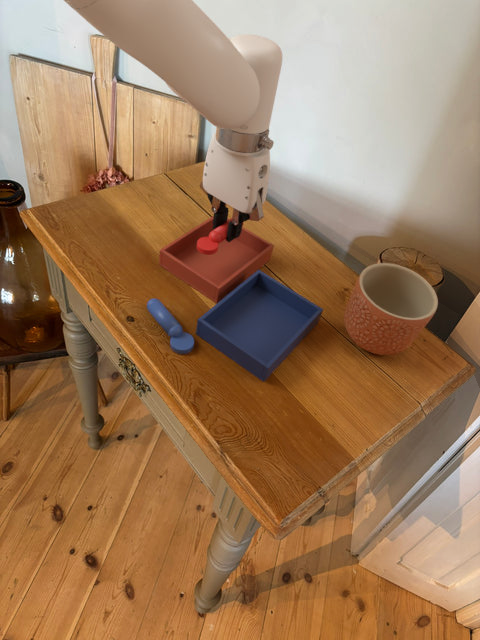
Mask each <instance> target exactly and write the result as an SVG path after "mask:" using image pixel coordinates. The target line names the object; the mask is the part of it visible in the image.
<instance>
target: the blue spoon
mask: <svg viewBox="0 0 480 640" xmlns="http://www.w3.org/2000/svg"><path fill="white" fill-rule="evenodd" d="M146 310H147V311H148V312H149V313H150V315H151V316H152V317H153V318H154V320H155V321H156V322H157V323H158V325H159V326H160V327H161V328H162V329H163V330H164V332H165V333H166V334H167V336H168V337H169V338H170V341H169V346H170V349H171V350H172V351H173V352H174V353H176V354H179V355H185V354H186V355H187V354H189V353H191V352H192V351H193V350H194V347H195V339H194V337H193V335H191V334H190V333H188V332H186V331H184V329H183V326H182V325H181V324H180V322H179V321H178V320H177V319H176V318H175V317H174V316H173V314H172V313H171V311H169V309H167V307H166V306H165V305H164V303H162V301H161V300H160V299H158V298H156V297H155V298H154V297H153V298H150V299H149V300H148V301H147V303H146Z"/></svg>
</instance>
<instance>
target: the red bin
mask: <svg viewBox="0 0 480 640" xmlns="http://www.w3.org/2000/svg"><path fill="white" fill-rule="evenodd" d="M213 217H214V215H213V216H210V217H209V218H208V219H206V220H205V221H203V222H202V223H200V224H198V225H197V226H195V227H194V228H192V229H190V230H189V231H187V232H186V233H184V234H181V236H179V237H178V238H176V239H174V240H173V241H171V242H170V243H168V244H167V245H165V246H163V247H161V248H160V249H159V250H158V251H159V254H158V266H160V267H161V268H162V269H164V270H166V271H167V272H168V273H170V274H171V275H173V276H174V277H176V278H177V279H179V280H180V281H182V282H184V283H185V284H187V285H188V286H190V287H191V288H193V289H194V290H196V291H197V292H199V293H200V294H202V295H203V296H205V297H206V298H207V299H209V300H211V302H214V303H215V304H217V303H218V302H220V301H221V300H222V299H223V298H225V297H226V296H227V295H228V294H229V293H231V292H232V291H233V290H234V289H236V288H237V287H238V286H239V285H240V284H242V283H243V282H244V281H245V280H247V279H248V278H249V277H250V276H251V275H253V274H254V273H255V272H256V271H257V270H260V269H261V268H262V267H263V266H264V265H266V264H267V263H269V261H271V260H272V254H273V251H274V247H275V245H274V244H273V243H271V242H269V241H267V240H266V239H264V238H262V237H260V236H259V235H257V234H256V233H254V232H252V231H251V230H248V229H247V228H245V227H243V226H242V230H241V234H240V236H239V237H238V238H235V239H234V240H232V241H231V242H228V241H226V239H225V240H223V241H222V242H220V243H219V244H218V250H217V252H216V253H214V254H212V255H205V254H202V253H200V252H199V251H198V250H197V241H198V240H199V239H200V238H202V237H209V234H210V232H211V231H212V230H213ZM229 219H230V218H227V221H228V220H229Z"/></svg>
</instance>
